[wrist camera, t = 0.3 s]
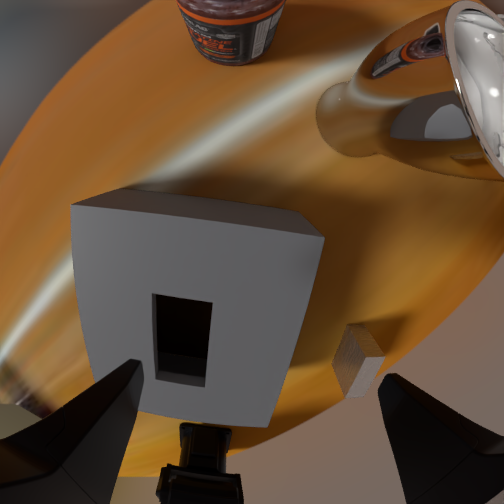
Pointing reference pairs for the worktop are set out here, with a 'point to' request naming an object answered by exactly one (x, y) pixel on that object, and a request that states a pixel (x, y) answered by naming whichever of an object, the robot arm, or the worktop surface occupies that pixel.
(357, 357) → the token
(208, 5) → the supplement bottle
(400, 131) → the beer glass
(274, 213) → the coin box
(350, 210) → the worktop surface
